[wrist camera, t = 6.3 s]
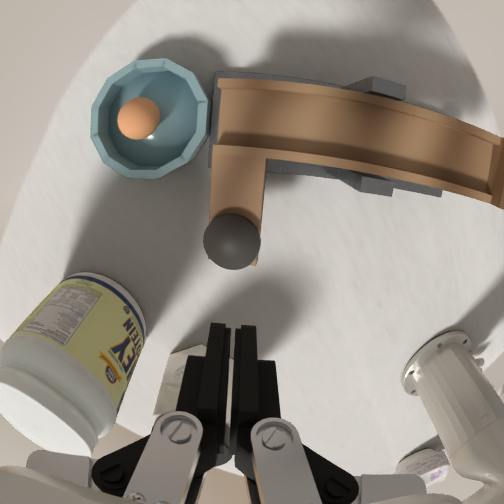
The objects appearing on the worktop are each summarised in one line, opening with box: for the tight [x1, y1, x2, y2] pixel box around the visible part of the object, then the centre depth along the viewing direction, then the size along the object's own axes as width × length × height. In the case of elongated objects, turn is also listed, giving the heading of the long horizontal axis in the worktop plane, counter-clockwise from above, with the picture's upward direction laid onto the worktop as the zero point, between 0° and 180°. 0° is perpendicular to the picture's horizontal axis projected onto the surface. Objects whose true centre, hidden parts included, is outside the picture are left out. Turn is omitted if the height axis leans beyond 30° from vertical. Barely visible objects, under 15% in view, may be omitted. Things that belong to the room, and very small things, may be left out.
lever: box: [203, 78, 504, 270], centre depth 18 cm, size 22×13×3 cm, turn 86°
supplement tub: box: [0, 272, 146, 457], centre depth 23 cm, size 12×12×17 cm
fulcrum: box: [208, 71, 442, 197], centre depth 20 cm, size 23×8×8 cm, turn 85°
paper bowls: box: [395, 449, 450, 484], centre depth 48 cm, size 15×15×8 cm
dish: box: [90, 58, 212, 179], centre depth 21 cm, size 10×10×3 cm
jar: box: [151, 344, 234, 467], centre depth 28 cm, size 9×8×12 cm
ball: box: [117, 97, 160, 139], centre depth 20 cm, size 4×4×4 cm
